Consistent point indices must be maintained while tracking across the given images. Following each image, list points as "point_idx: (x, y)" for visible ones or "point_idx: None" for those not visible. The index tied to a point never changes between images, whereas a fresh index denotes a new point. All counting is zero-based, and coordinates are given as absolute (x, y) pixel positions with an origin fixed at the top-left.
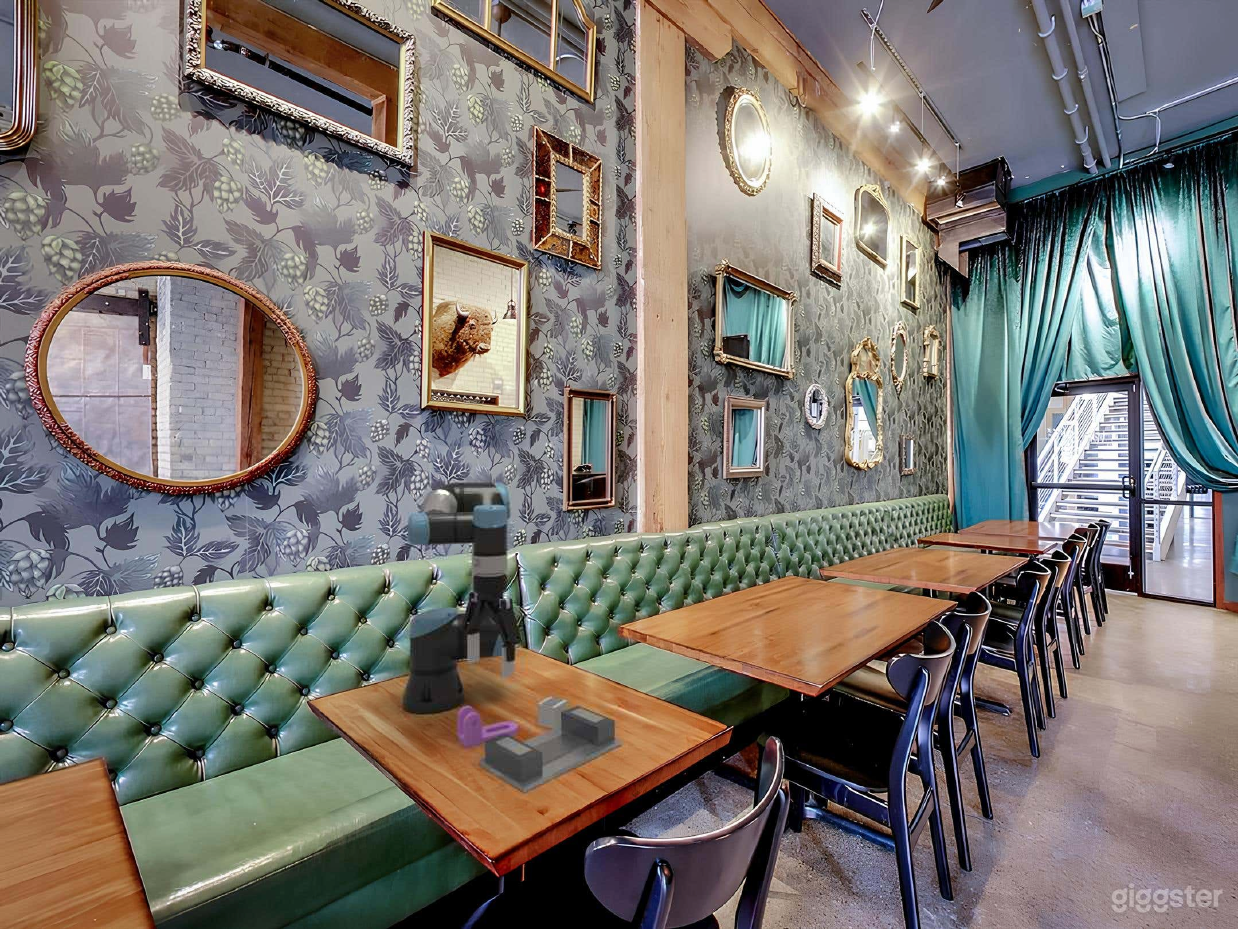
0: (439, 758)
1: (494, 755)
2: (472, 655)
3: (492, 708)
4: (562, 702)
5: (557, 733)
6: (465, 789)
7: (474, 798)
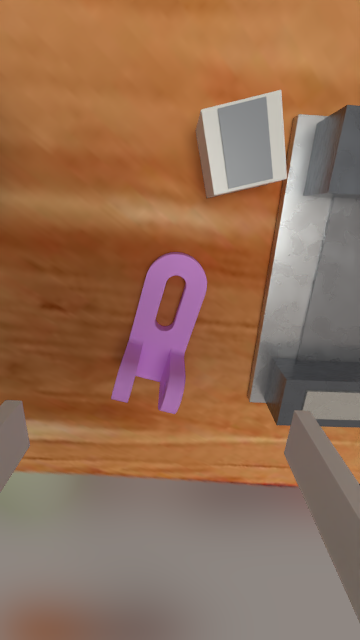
0: (170, 423)
1: None
2: (6, 462)
3: (19, 209)
4: (278, 121)
5: (309, 220)
6: None
7: None
